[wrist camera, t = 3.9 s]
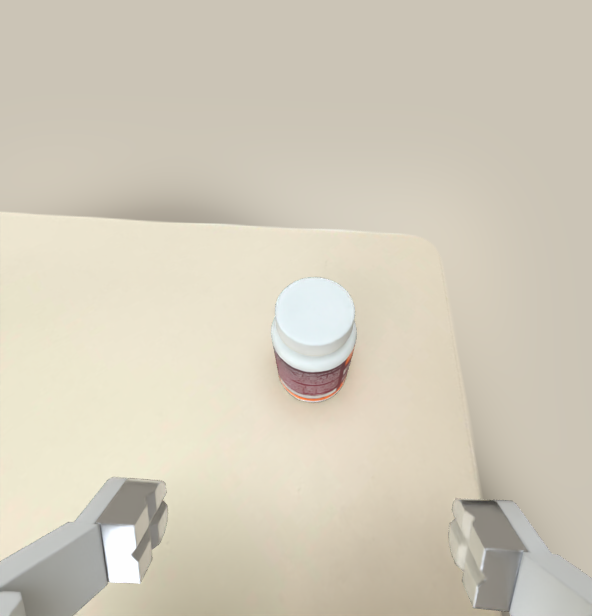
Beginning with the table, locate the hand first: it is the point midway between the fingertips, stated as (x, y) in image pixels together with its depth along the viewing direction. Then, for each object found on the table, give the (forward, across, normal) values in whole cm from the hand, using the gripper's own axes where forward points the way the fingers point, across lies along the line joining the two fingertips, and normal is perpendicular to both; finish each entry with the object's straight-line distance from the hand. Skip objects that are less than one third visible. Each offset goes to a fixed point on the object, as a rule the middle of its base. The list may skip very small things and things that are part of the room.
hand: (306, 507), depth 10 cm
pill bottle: (+15, 0, +2) cm, 15 cm away
